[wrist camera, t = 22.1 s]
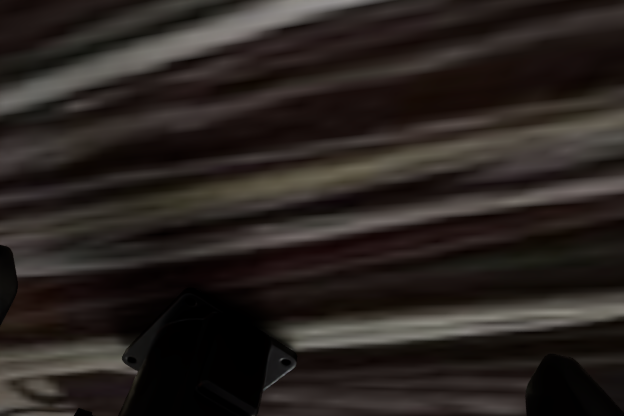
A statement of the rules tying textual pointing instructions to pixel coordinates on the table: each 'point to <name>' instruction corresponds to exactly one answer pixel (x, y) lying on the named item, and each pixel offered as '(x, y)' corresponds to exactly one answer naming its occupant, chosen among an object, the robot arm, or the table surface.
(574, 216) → the table surface
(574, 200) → the table surface
